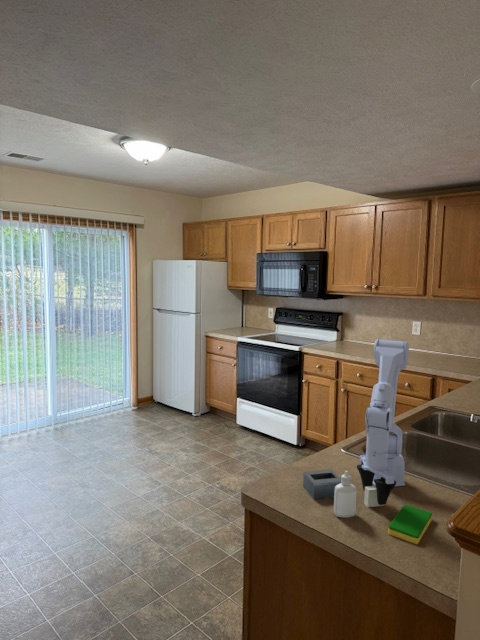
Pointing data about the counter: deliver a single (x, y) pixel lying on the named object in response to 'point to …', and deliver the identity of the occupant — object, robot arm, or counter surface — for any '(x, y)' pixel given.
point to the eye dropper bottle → (345, 497)
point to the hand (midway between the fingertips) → (374, 497)
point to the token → (371, 496)
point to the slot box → (321, 483)
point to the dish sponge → (410, 524)
